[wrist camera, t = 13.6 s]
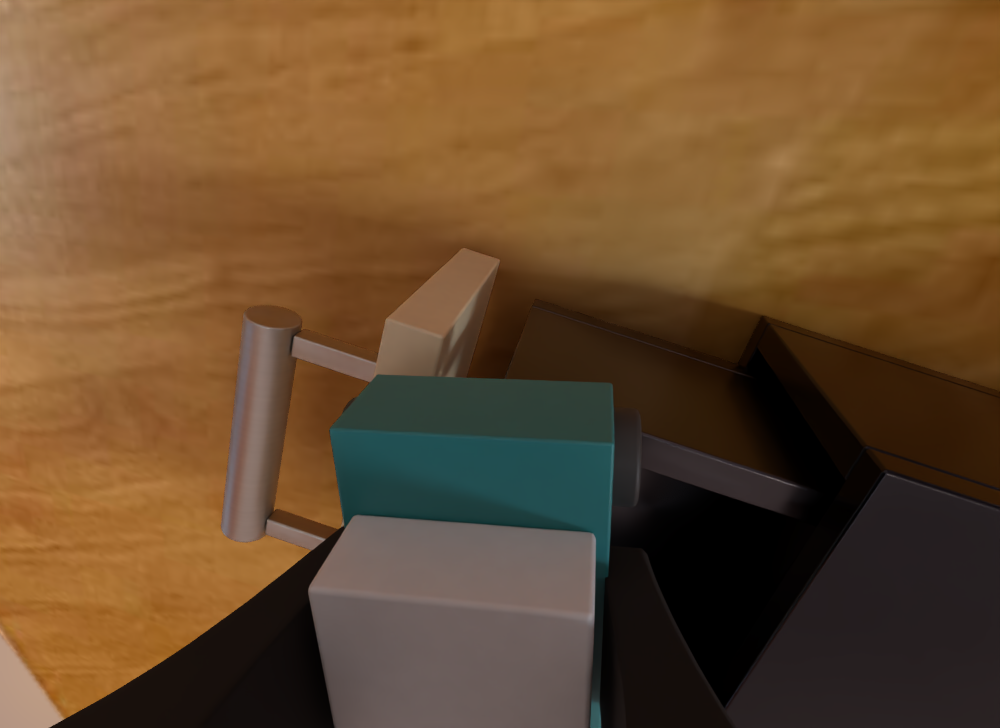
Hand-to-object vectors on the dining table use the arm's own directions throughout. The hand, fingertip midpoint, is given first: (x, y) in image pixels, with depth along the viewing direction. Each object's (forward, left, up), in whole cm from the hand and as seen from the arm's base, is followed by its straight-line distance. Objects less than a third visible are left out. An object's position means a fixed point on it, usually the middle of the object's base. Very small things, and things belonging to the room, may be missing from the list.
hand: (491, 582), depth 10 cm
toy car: (0, 0, -1) cm, 1 cm away
